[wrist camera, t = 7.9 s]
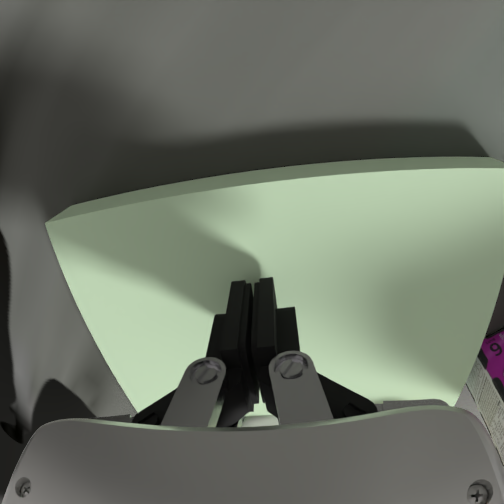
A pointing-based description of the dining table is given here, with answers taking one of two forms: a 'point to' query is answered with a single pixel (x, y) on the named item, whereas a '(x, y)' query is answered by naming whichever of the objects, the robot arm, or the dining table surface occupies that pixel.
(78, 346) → the dining table surface
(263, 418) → the white ball
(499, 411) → the candy bar box
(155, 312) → the green deck
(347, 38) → the dining table surface
